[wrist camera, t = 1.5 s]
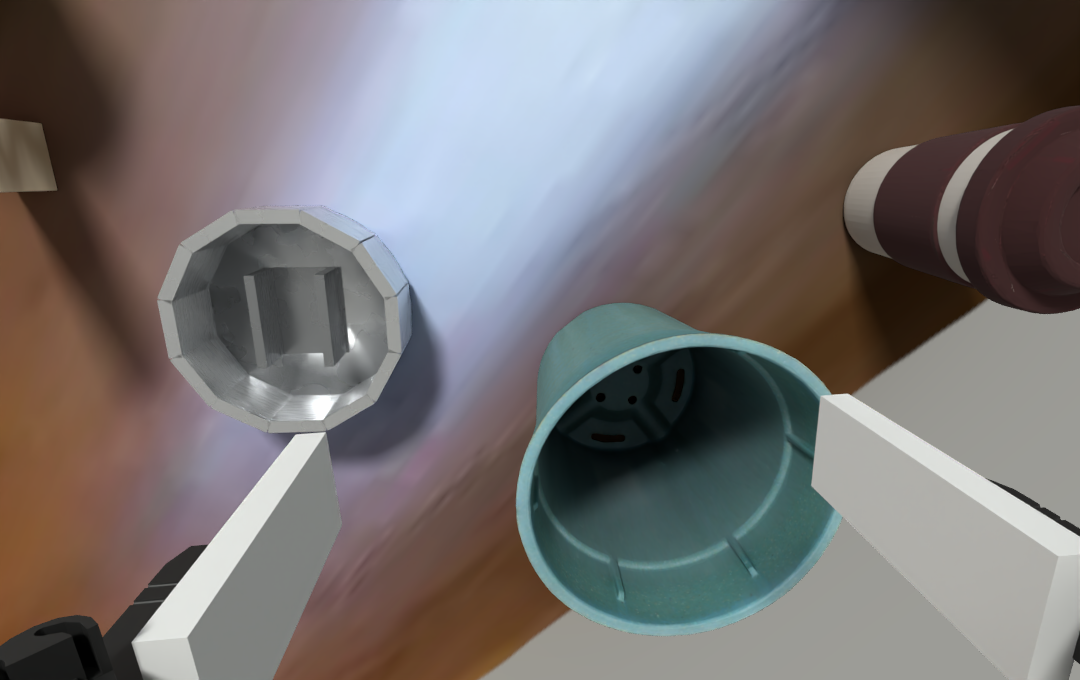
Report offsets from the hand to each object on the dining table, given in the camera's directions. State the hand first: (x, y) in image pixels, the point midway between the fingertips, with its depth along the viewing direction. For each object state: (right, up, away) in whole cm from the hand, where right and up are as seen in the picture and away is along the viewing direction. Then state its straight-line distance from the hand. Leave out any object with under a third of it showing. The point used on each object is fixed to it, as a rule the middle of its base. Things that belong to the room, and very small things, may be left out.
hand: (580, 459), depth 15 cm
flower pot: (+5, 0, +27) cm, 28 cm away
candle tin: (-17, +5, +24) cm, 30 cm away
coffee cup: (+24, +13, +25) cm, 37 cm away
